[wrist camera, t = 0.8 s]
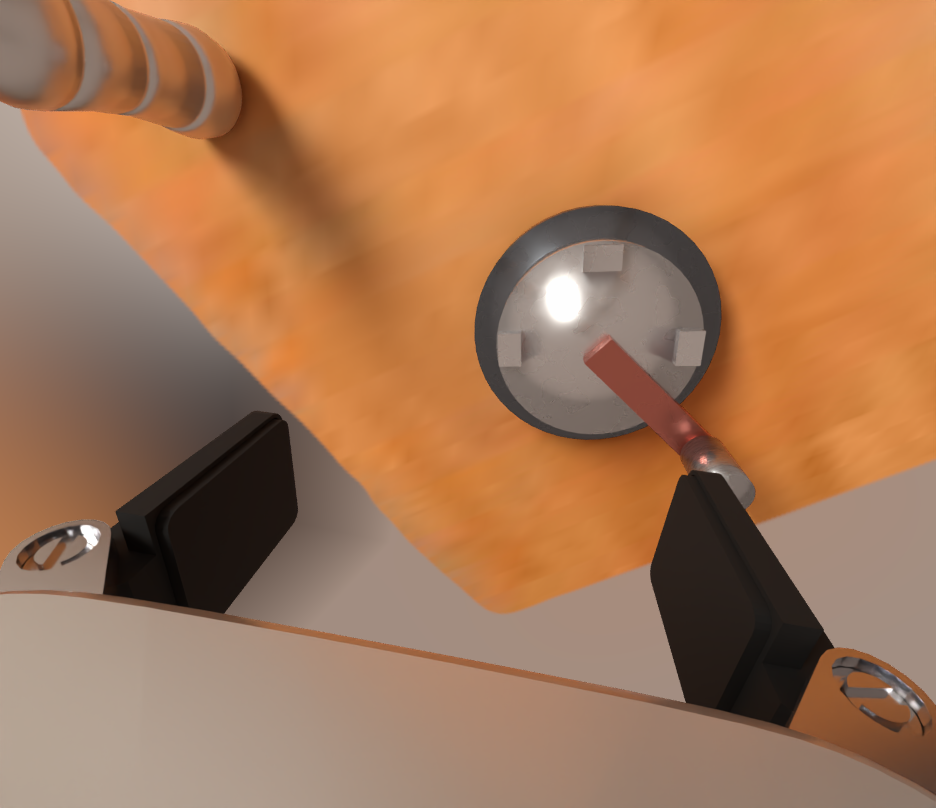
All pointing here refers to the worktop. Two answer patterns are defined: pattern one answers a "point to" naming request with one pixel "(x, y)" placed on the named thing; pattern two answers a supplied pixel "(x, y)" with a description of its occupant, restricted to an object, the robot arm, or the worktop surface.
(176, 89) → the plastic bottle
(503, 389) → the gray plate
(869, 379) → the worktop surface
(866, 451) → the worktop surface
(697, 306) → the crank handle wheel
